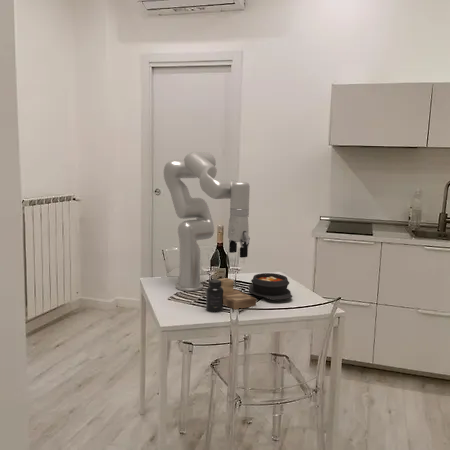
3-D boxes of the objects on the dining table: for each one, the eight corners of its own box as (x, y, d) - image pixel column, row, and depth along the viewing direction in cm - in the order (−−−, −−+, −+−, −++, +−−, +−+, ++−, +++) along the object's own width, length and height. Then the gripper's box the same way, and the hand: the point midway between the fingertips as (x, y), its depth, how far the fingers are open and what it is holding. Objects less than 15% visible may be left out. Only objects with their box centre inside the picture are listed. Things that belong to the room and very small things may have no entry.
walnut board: (210, 297, 203) (210, 290, 203) (231, 294, 209) (231, 287, 209) (234, 309, 188) (234, 302, 188) (255, 305, 194) (256, 298, 194)
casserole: (302, 301, 202) (303, 282, 200) (263, 305, 195) (264, 286, 193) (274, 286, 224) (275, 269, 223) (239, 289, 217) (239, 271, 216)
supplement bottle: (205, 307, 191) (206, 278, 189) (222, 307, 191) (223, 278, 189) (206, 312, 184) (207, 283, 182) (223, 312, 184) (224, 283, 183)
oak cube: (217, 290, 204) (217, 279, 203) (226, 288, 206) (227, 277, 206) (223, 293, 200) (223, 282, 199) (233, 291, 202) (233, 280, 202)
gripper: (221, 210, 193) (220, 251, 195) (240, 215, 177) (239, 259, 180) (238, 210, 196) (237, 250, 199) (258, 215, 181) (256, 258, 183)
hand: (238, 254), depth 189 cm, fingers open, 9 cm apart
